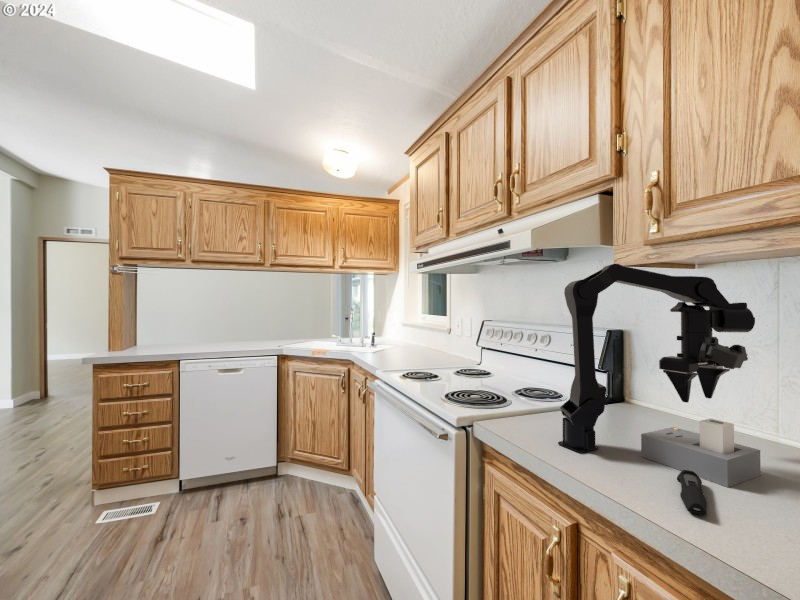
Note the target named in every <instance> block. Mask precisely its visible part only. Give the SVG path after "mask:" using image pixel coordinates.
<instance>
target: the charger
mask: <svg viewBox="0 0 800 600" xmlns="http://www.w3.org/2000/svg"><path fill="white" fill-rule="evenodd" d="M699 434H700V447H702V448H706V449H709V450H712V451H716V452H719V453H723V454H726V455H727V454H730V453H734V443H735V424H734V423H732V422H727V421H723V420H720V419H719V420H718V419H714V418H707V419H702V420H699Z"/></svg>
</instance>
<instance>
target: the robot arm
mask: <svg viewBox="0 0 800 600" xmlns="http://www.w3.org/2000/svg"><path fill="white" fill-rule="evenodd" d="M614 283H617V284H623V285H627V286H632V287H638V288H641V289H642V288H643V289H646V290H651V291H655V292H661V293H663V294H665V295H667V296H669V297H670V298H673V299H675V300H678V302H677V304H676V305H675V306H673V307H672V308H671V309H670V310H669V311H670V312H671V313H680V335H677V336H676V341H680V351H681V352H678V353H676V355H675V356H673V355H669V356H663V357H662V358H660V359H659V362H658V365H659V366H658V368H659V370H662V373H665V375H666V376H667V377H668V379H669V381H670V383H671V384H672V385H673V387H674V389H675V390H676V392H677V394H678V396H679V397H680V400H681V402H683V403H689V401H690V397H691V387H692V380H694V379H695V378H696V377H697V376H698V380H699V383H700V386H701V389H702V393H703V394H704V398H706V399H712V398H713V396H714V394H715V390H716V388H717V387H716V386H717V385H718V382H719V380H720V378H721V376H722V375H724V374H726V373H728V372H730V371H731V370H734V369H741V368H742V365H743V364H744V362H746V361H748V359H749V357H748V353H747V350H746V347H745V346H743V345H741V344H733V345H731V346H730V347H729V346H727V345H721V344H719V338H718V337H717V336H713V330H714V332H717V333H749V332H751V331H752V330H753V329H754V327H755V324H756V317H754V313H753V311H751V309H750V308H748V303H747V302H732V303H730V302H729V301H728V300H727V298H726V297H725V296H724V295H723V294H722V293H721V291H720V290H719V288H718V286H717V284H716V282H715V280H714V279H713V278H711V277H708V276H693V275H692V276H691V275H686V276H685V275H682V276H681V275H677V276H676V275H669V274H665V273H659V272H654V271H649V270H644V269H639V268H636V267H631V266H630V267H629V266H625V265H621V264H620V263H612V264H608V265H605V266H603V267H602V268H601V269H600V270H598V271H596V272H594V273H592V274H590V275H589V276H587V277H585V278H583V279H578V280H574V281H571V282H569V283H568V284H567V285H566V286H565V288H564V292H563V293H564V297H565V298H564V299H565V301H566V302H565V303H566V306H567V309H568V311H569V314H570V316H571V320H572V322H571V323H572V337H573V339H572V341H573V361H574V362H573V363H574V378H573V380H572V383H571V385H570V386H571V387H570V394H569V398H568V400H566V401H565V402H564V403H563V404H562V405H561V406H560V407H559V409H560V411H561V415H562V416H563V417H562V440H561V441H558V442H557V444H558V445H559V446H561V447H564V448H567V449H569V450H571V451H575V452H576V453H578V454H581V453H588V452H591V451H595V450H599V446H597V445H596V430H595V426H596V424H597V421H598V419H599V417H600V416H601V415H602V414H604V411H605V408H606V406H608V405H609V404H608V401H607V399H606V398H607V397H606V396H607V386H605V385H603V384H601V383H599V382H598V380H597V374H596V359H595V339H594V337H595V336H594V322H593V319H594V315H595V311H596V309H597V305H598V300H599V294H600V293H602V292H603V291H605V290H606V289H608V288H609V287H610V286H611V285H613V284H614ZM689 303H691V304H689ZM706 307H707V308H709V309H705V308H706Z"/></svg>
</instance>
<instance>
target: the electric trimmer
mask: <svg viewBox="0 0 800 600" xmlns="http://www.w3.org/2000/svg"><path fill="white" fill-rule="evenodd" d="M676 480H677V482H679V483H680V486H681V488H680V489H681V490H680V495H679V496H680V498H681V501H682V504H684V507H685V509H686V511H688V512H689V513H692V514H697V515H701V516H706V515H707V514H708V511H707V510H708V502H707V498H706V496H705V493H704V492H703V486H702V484H703V481H702V478H700V477H699V476H698V475H697V474H696V473H695V472H693V471H689V470H683V471H681V470H680V472H679V474H678V475H677V476H676Z"/></svg>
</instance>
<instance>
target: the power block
mask: <svg viewBox="0 0 800 600" xmlns="http://www.w3.org/2000/svg"><path fill="white" fill-rule="evenodd" d="M640 434H641V435H640V438H641V439H640V441H641V442H640V445H641V449H640V450H641V451H640V453H641V457H642V458H645V459H646V460H650V461H653V462H656V463H657V464H658V463H659V464H662V465H664V466H667V467H670V468H673V469H676V470H679V471H680V472H681V471H683V470H689V471H693V472H695V473H696V474H697V475H698V476H699V478H700V479H703V480H706V481H709V482H712V483H714V484H718V485H720V486H723V487H726V488H729V487H732V486H736V485H739V484H741V483H743V482H746V481H748V480H752V479H754V478H757V477H760V476H761V472H762V471H761V449H758V448H753V447H750V446H747V445H744V444H743V445H742V444H739V443H736V442H734V453H730V454H727V455H726V454H723V453H719V452H716V451H712V450H709V449H706V448H702V447H700V433H699V432H694V431H690V430H686V429H683V428H679V427H675V426H672V427H668V428H662V429H657V430H653V431H649V432H645V433H640Z"/></svg>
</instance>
